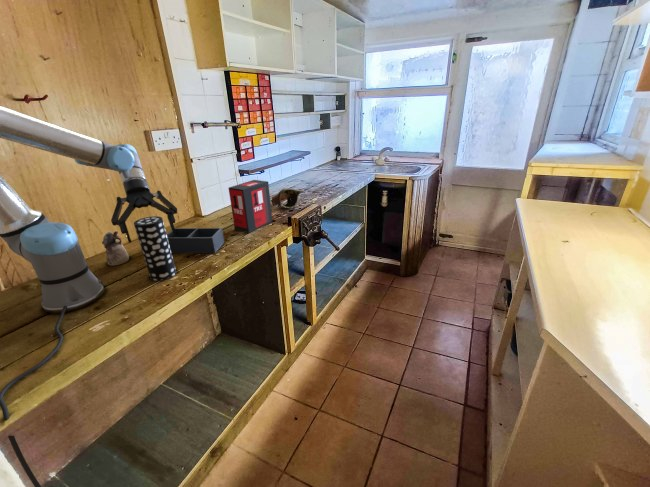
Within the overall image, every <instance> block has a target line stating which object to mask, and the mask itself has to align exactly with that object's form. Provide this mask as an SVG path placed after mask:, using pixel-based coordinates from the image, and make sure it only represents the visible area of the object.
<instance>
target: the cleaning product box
mask: <svg viewBox="0 0 650 487" xmlns="http://www.w3.org/2000/svg"><path fill="white" fill-rule="evenodd" d="M228 193H229V200H230V208H231V213H232V220H233V226H234V230H236V231H239V232H244V233H247V234H250V233H252V232H255V231H256V230H258V229H261V228H262V227H264V226H266V225H268V224H270V223H273V215H272V214H273V213H272V202H271V196H270V195H271V194H270V183H269V181H267V180H259V179H252V180H249V181H246V182H245V181H244V182H243V183H239V184H236V185H233V186H229V187H228Z"/></svg>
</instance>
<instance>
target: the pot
mask: <svg viewBox="0 0 650 487" xmlns="http://www.w3.org/2000/svg"><path fill="white" fill-rule="evenodd" d="M302 191H303V189H300V190H299V189H298V190H297V189H292V188H289V187H287V188H286V187H285V188H282V189H280V190H279V192H278V193H276V194H274V195H273V196H272V197H271V205H272V204H273V205H276V206H277V207H279V208H281V207H282V208H285V209H291V208H294V207H295V206H297V204H298V201H299V196H300V195H301V193H302ZM283 201H286V204H283Z"/></svg>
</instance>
